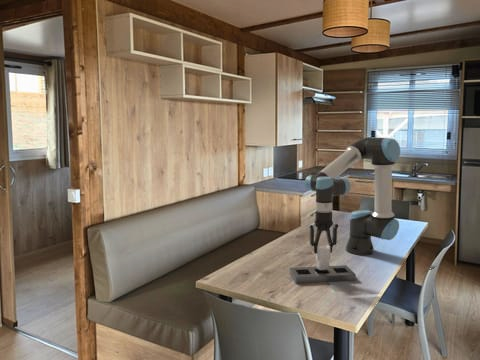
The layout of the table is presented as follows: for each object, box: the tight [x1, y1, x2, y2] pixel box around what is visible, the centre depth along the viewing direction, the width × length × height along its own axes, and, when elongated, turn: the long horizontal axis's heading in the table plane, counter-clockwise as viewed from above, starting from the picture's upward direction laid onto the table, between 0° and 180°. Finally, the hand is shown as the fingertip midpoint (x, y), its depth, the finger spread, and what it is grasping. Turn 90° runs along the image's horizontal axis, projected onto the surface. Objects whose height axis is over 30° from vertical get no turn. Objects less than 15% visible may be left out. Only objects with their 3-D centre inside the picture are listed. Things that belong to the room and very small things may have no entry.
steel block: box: [315, 245, 330, 270], centre depth 193 cm, size 5×5×10 cm
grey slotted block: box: [289, 264, 357, 285], centre depth 194 cm, size 28×12×4 cm, turn 96°
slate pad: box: [327, 281, 358, 292], centre depth 184 cm, size 10×10×1 cm
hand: (322, 259), depth 193 cm, fingers closed on steel block, 5 cm apart
